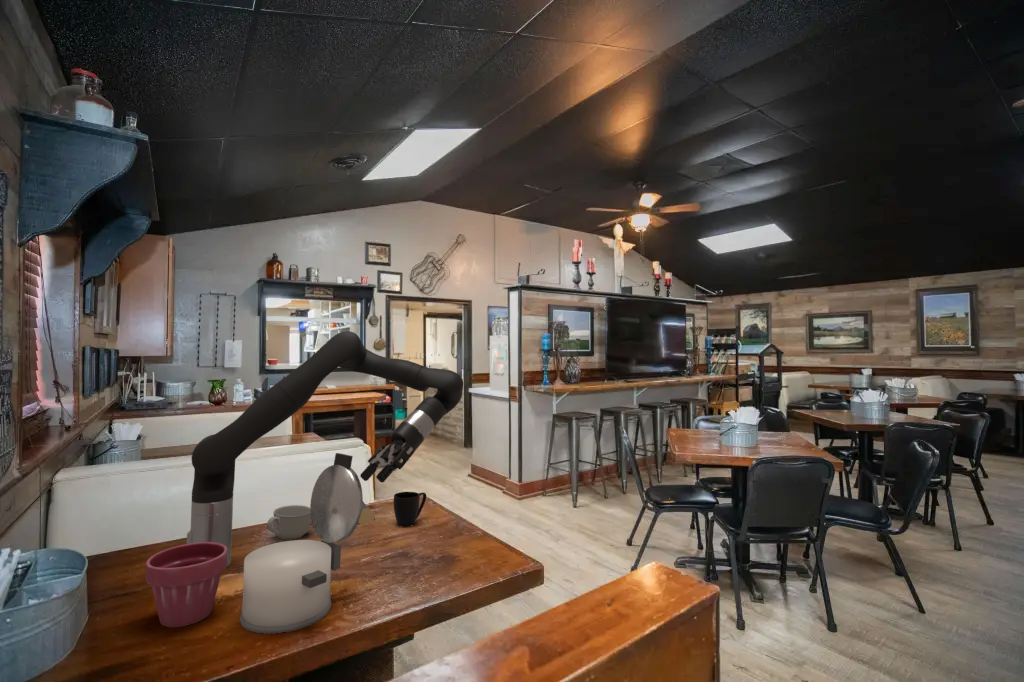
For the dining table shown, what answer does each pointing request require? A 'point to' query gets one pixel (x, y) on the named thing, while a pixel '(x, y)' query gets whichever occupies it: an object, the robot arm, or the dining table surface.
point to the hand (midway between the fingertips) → (370, 479)
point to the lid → (336, 501)
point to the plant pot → (186, 581)
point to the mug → (407, 507)
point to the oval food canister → (288, 585)
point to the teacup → (290, 521)
